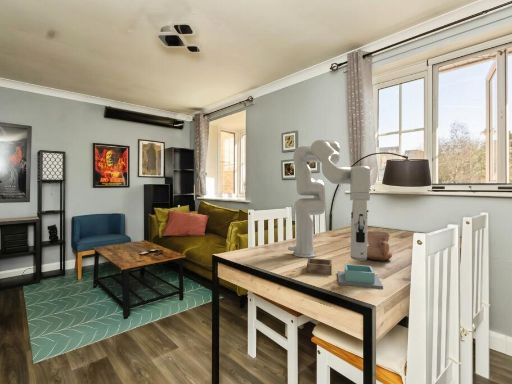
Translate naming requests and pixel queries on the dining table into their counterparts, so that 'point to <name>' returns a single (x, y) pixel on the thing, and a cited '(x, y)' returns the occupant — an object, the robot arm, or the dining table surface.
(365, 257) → the travel mug
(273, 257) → the dining table surface
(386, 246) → the ceramic jug
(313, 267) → the frame
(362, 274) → the dock
